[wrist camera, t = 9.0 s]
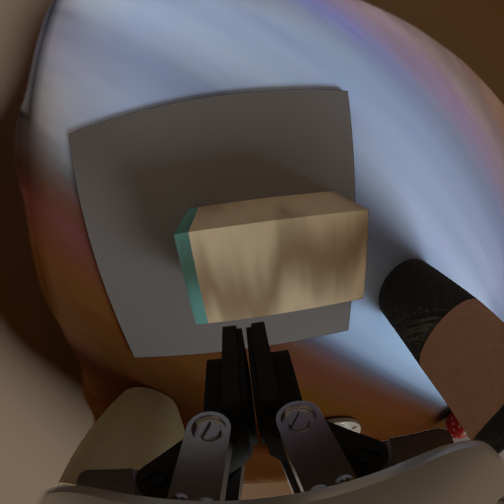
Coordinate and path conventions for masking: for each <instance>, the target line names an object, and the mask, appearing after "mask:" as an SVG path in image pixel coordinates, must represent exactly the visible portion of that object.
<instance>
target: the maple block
mask: <svg viewBox="0 0 504 504" xmlns="http://www.w3.org/2000/svg"><path fill="white" fill-rule="evenodd" d="M174 237H175V242H176V246H177V251H178V255H179V260H180V264H181V268H182V272H183V277H184V281H185V285H186V289H187V293H188V297H189V300H190V304H191V308H192V312H193V315H194V319H195V323H196V325H197V324H206V323H215V322H224V321H232V320H239V319H247V318H254V317H261V316H268V315H274V314H281V313H287V312H293V311H299V310H305V309H310V308H316V307H321V306H327V305H332V304H337V303H342V302H347V301H352V300H357V299H361V298H363V294H364V284H365V272H366V258H367V240H368V209H366V208H364V207H362V206H360V205H358V204H356V203H354V202H352V201H351V200H349V199H347V198H345V197H343V196H341V195H339V194H337V193H335V192H333V191H329V192H318V193H307V194H297V195H288V196H279V197H270V198H261V199H253V200H245V201H238V202H230V203H223V204H216V205H209V206H203V207H196V208H190V209H188V210H187V212H186V214H185V216H184V217H183V219H182V221H181V223H180V224H179V226H178V228H177V230H176V232H175V233H174Z"/></svg>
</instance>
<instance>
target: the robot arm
mask: <svg viewBox="0 0 504 504" xmlns="http://www.w3.org/2000/svg"><path fill="white" fill-rule="evenodd" d="M246 333H247V343H248V353H249V362H250V372H251V379H250V372H249V366H248V361H247V355H246V349H245V344H244V338H243V332H242V328H238V329H237V327H236V325H233V326H225V327H222V359H214V360H208V361H207V367H206V381H205V396H204V412H203V413H200V414H198V415H196V416H194V417H193V418H192V419H191V420H190V421H189V423H188V425H187V428H186V431H185V435H184V438H183V439H182V440H181V441H179V442H178V443H176V444H175V445H174V446H172V447H171V448H170V449H168V450H167V451H165V452H164V453H163V454H161V455H160V456H158V457H157V458H155V459H154V460H152V461H151V462H149V463H148V464H146V465H145V466H143V467H142V468H141V469H140V470H134V469H133V468H128V469H102V470H85V471H83V472H81V473H80V475H79V476H78V478H77V485H65V486H58V487H54V488H50V489H48V490H46V491H44V492H43V493H42V494H41V496H40V497H39V499H38V501H37V503H36V504H504V461H503V459H502V458H501V456H500V455H499V454H498V453H497V452H496V451H495V449H493V448H492V447H491V446H490V445H489V444H487V443H485V442H483V441H477V440H470V441H469V440H468V441H461V442H456V443H454V442H453V438H452V436H451V434H450V433H449V432H448V431H447V430H446V429H442V428H435V429H431V430H427V431H422V432H418V433H414V434H409V435H404V436H399V437H393V438H389V440H387V441H379V440H377V439H374V438H371V437H368V436H365V435H363V434H360V430H361V427H360V425H359V423H358V421H357V420H355V419H352V418H345V417H344V418H333V419H328V420H325V418H324V417H323V415H322V413H321V411H320V410H319V409H318V407H317V406H316V405H314V404H312V403H310V402H307V401H302V397H301V394H300V390H299V387H298V383H297V380H296V376H295V372H294V369H293V365H292V362H291V358H290V355H289V352H288V350H284V351H278V352H271V353H270V348H269V343H268V338H267V333H266V328H265V323H264V321H263V322H256V323H251V327H246ZM251 381H252V387H251ZM252 390H253V397H252ZM253 398H254V405H255V410H256V415H257V421H258V426H259V431H260V435H261V440H262V444H268V448H269V454H270V455H272V456H274V457H275V458H277V459H279V460H280V463H281V465H282V468H283V470H284V473H285V476H286V478H287V481H288V483H289V486H290V488H291V491H292V493H293V494H291V495H284V496H277V497H271V498H261V499H251V500H241V496H242V487H243V478H244V469H245V464H244V463H245V462H246V461H247V460H248V459H250V458H251V457H252V453H253V446H254V445H258V442H257V433H256V424H255V415H254V406H253Z"/></svg>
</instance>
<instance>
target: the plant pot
mask: <svg viewBox="0 0 504 504" xmlns="http://www.w3.org/2000/svg"><path fill="white" fill-rule="evenodd" d="M184 435H185V429H184V426H183V423H182V420H181V417H180V414H179V411H178V408H177V406H176V404H175V403H174V401H173V400H172V399H170V398H169V397H168V396H166V395H165V394H163V393H161V392H159V391H156V390H153V389H150V388H145V387H133V388H129V389H127V390H125V391H124V392H123V393H122V394H121V395H120V396H119V397H118V398H117V399H116V400H115V401H114V402H113V403H112V404H111V405H110V406H109V407H108V408H107V409H106V411H105V412H104V413H103V414H102V415H101V416H100V418H99V419H98V420H97V421H96V422H95V424H94V425H93V426H92V428H91V429H90V430H89V431H88V433H87V434H86V436H85V437H84V438H83V440H82V441H81V443H80V445H79V446H78V447H77V449H76V451H75V452H74V454H73V456H72V457H71V459H70V461H69V463H68V465H67V467H66V469H65V470H64V472H63V474H62V476H61V478H60V481H59V483H58V485H59V486H65V485H77V478H78V476H79V475H80V473H81V472H83V471H85V470H102V469H128V468H133V469H134V470H140V469H141V468H142V467H143V466H145V465H146V464H148V463H149V462H151V461H152V460H154V459H155V458H157V457H158V456H160V455H161V454H163V453H164V452H165V451H167V450H168V449H170V448H171V447H172V446H174V445H175V444H176V443H178V442H179V441H181V440H182V439H183V438H184Z"/></svg>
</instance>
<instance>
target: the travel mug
mask: <svg viewBox="0 0 504 504" xmlns="http://www.w3.org/2000/svg"><path fill="white" fill-rule="evenodd" d="M379 305H380V308H381V310H382V312H383V314H384V315H385V317H386V318H387V319H388V321H389V322H390V324H391V325H392V326H393V328H394V329H395V331H396V332H397V333H398V335H399V336H400V338H401V339H402V340H403V342H404V343H405V345H406V346H407V348H408V349H409V350H410V352H411V353H412V355H413V356H414V358H415V359H416V361H417V362H418V364H419V365H420V366H421V368H422V370H423V371H424V372H425V374H426V375H427V376H428V378H429V379H430V381H431V382H432V383H433V385H434V386H435V388H436V389H437V390H438V392H439V393H440V395H441V396H442V397H443V399H444V400H445V402H446V403H447V405H448V406H449V408H450V409H451V411H452V412H453V414H454V415H455V417H456V418H457V420H458V421H459V423H460V424H461V426H462V427H463V429H464V430H465V432H466V433H467V435H468V437H469V438H470V440H477V441H483V442H485V443H487V444H489V445H490V446H491V447H492V448H493V449H495V451H496V452H497V453H498V454H499V453H500V452H501V451H502V450H504V322H503V321H502V320H500V319H499V318H498V317H497V316H496V315H495V314H494V313H493V312H492V311H491V310H489V309H488V308H487V307H486V306H485V305H484V304H483V303H481V302H480V301H479V300H478V299H476V298H475V297H474V296H472V295H471V294H470V293H468V292H467V291H466V290H464V289H463V288H462V287H460V286H459V285H458V284H456V283H455V282H453V281H452V280H451V279H449V278H448V277H446V276H445V275H443V274H442V273H441V272H439V271H438V270H436V269H435V268H433V267H432V266H430V265H429V264H427V263H426V262H424V261H422V260H418V259H412V260H408V261H405V262H403V263H402V264H400V265H399V266H397V267H396V268H395V269H394V270H393V271H392V272H391V273H390V274H389V275H388V277H387V278H386V280H385V281H384V283H383V285H382V288H381V291H380V296H379Z"/></svg>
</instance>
